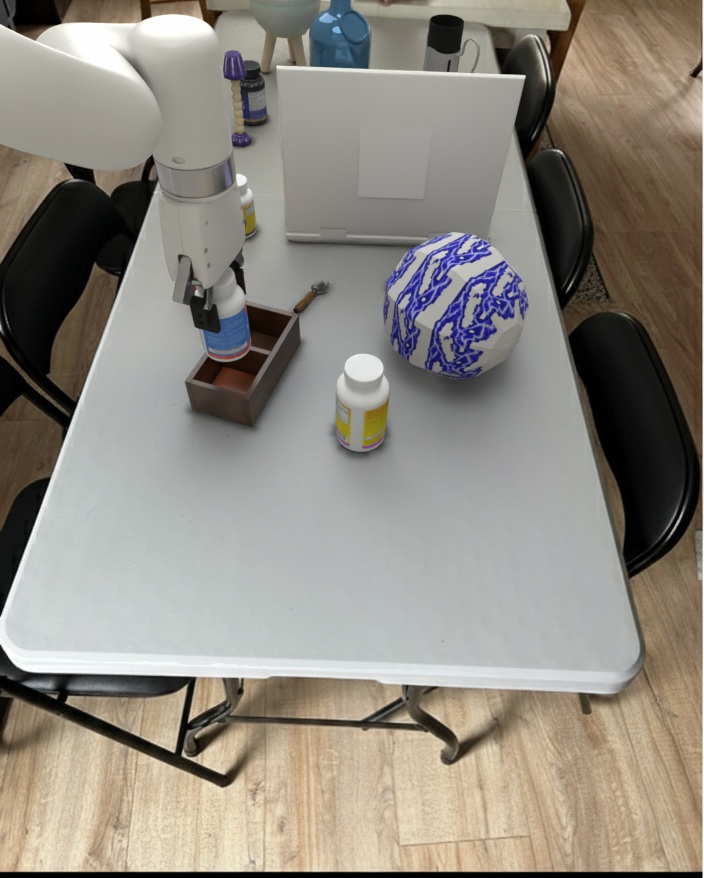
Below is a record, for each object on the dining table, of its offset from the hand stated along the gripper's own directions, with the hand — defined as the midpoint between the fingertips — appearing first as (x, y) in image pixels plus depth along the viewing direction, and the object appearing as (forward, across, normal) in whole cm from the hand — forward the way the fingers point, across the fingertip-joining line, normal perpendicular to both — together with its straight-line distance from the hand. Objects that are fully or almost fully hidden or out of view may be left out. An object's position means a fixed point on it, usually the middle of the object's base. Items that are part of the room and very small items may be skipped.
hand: (221, 309), depth 74 cm
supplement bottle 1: (+16, -36, -16) cm, 42 cm away
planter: (+16, -100, -34) cm, 106 cm away
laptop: (+16, -53, +6) cm, 55 cm away
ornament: (+16, -18, +26) cm, 35 cm away
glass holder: (+16, -101, +6) cm, 102 cm away
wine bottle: (+16, -89, -16) cm, 92 cm away
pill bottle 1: (+6, 0, 0) cm, 6 cm away
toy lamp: (+16, -65, -29) cm, 73 cm away
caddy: (+15, -4, 0) cm, 16 cm away
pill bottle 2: (+16, -74, -31) cm, 82 cm away
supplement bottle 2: (+16, 0, +18) cm, 24 cm away
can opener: (+15, -23, +2) cm, 28 cm away
